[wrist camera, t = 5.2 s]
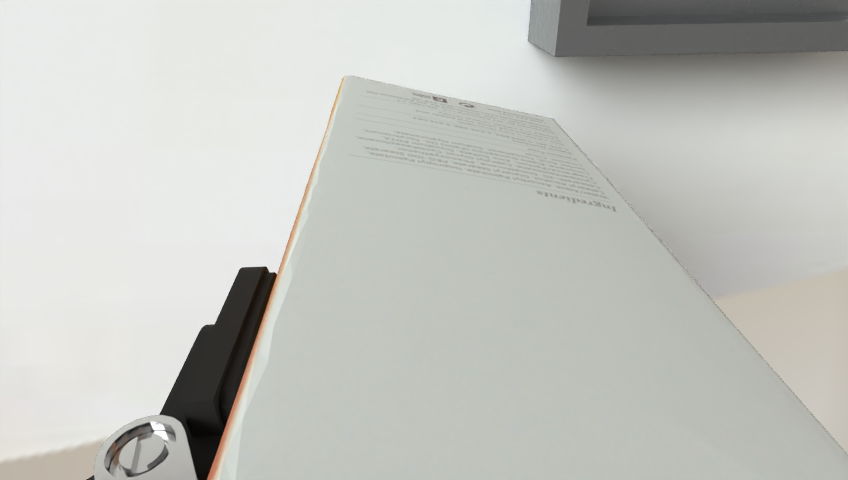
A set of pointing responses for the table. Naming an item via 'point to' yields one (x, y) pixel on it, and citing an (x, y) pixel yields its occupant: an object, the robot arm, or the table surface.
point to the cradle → (687, 26)
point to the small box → (494, 322)
